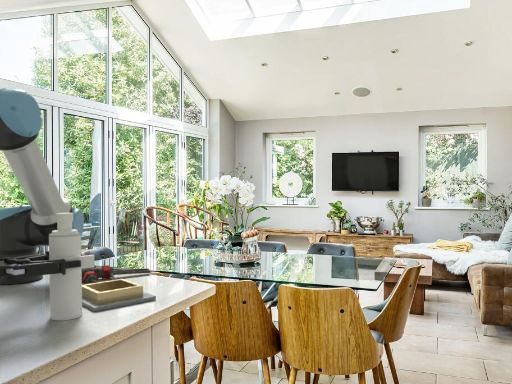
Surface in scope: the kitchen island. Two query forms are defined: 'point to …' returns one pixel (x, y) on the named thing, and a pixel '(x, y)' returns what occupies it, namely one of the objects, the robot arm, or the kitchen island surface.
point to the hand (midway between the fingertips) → (86, 258)
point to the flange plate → (113, 294)
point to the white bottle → (69, 285)
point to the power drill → (106, 273)
